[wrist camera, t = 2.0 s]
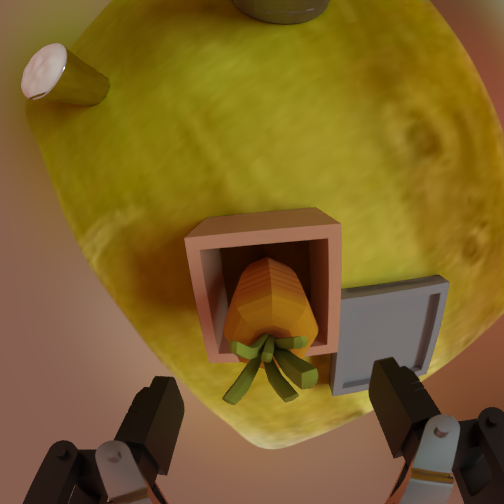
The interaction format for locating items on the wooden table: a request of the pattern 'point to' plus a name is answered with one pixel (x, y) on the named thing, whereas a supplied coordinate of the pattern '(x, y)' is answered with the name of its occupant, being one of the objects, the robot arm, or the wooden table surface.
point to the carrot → (270, 329)
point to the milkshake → (62, 78)
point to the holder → (264, 232)
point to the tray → (386, 329)
